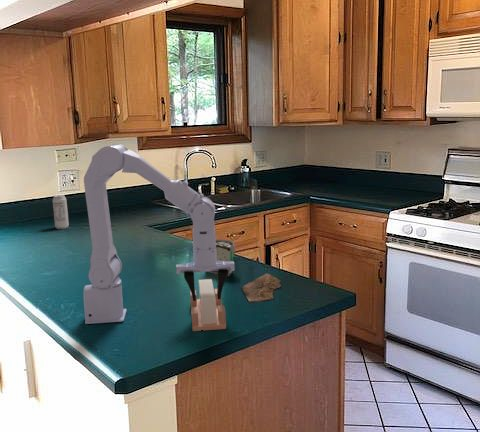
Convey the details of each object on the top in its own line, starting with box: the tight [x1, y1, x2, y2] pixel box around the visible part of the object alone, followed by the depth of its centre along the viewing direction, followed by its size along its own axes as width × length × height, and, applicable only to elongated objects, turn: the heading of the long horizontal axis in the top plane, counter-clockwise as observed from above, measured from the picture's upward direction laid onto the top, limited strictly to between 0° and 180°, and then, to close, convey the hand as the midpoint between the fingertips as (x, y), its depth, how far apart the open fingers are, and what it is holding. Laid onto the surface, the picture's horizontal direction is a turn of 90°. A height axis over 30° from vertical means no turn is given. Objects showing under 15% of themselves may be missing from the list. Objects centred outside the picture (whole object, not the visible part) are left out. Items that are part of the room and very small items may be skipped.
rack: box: [189, 288, 227, 332], centre depth 135 cm, size 8×19×4 cm, turn 6°
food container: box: [206, 238, 236, 277], centre depth 172 cm, size 12×6×10 cm, turn 56°
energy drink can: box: [52, 194, 70, 230], centre depth 244 cm, size 6×6×15 cm
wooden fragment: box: [240, 273, 282, 303], centre depth 156 cm, size 26×11×1 cm, turn 164°
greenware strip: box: [198, 278, 217, 324], centre depth 135 cm, size 4×16×6 cm, turn 7°
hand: (206, 298), depth 135 cm, fingers open, 6 cm apart
